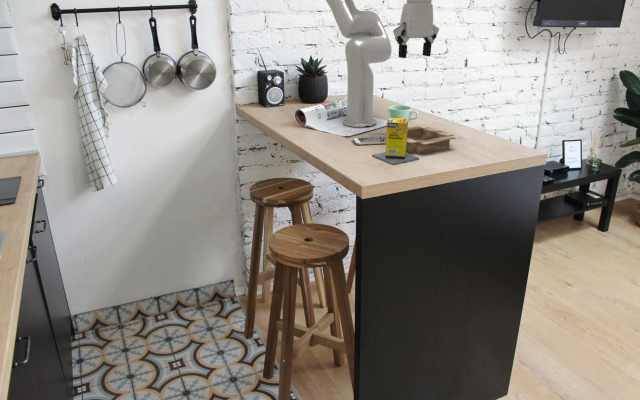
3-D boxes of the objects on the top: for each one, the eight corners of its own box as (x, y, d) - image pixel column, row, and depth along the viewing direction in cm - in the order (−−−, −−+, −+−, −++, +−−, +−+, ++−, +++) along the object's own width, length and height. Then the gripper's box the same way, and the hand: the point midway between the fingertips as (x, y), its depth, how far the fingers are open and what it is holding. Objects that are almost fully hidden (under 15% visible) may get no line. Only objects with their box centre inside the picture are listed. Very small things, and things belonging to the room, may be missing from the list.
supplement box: (405, 159, 154) (407, 123, 150) (384, 158, 155) (386, 122, 151) (406, 153, 159) (408, 118, 155) (386, 152, 160) (388, 117, 156)
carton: (380, 143, 172) (380, 132, 171) (421, 135, 181) (422, 125, 179) (417, 157, 158) (417, 145, 156) (460, 148, 166) (461, 136, 165)
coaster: (372, 156, 159) (372, 154, 158) (397, 151, 164) (397, 149, 163) (392, 165, 151) (393, 163, 151) (419, 159, 156) (419, 157, 155)
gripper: (432, -2, 165) (427, 53, 172) (388, -2, 158) (385, 56, 164) (449, -1, 159) (443, 56, 166) (404, -1, 152) (399, 60, 158)
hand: (414, 56), depth 165 cm, fingers open, 9 cm apart
